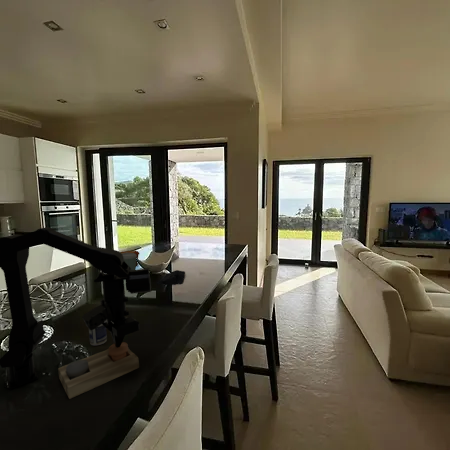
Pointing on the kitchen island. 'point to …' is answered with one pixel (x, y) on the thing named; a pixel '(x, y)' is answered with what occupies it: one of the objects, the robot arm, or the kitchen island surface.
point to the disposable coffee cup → (130, 259)
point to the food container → (132, 252)
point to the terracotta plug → (118, 351)
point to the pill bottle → (98, 335)
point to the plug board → (98, 372)
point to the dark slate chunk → (173, 278)
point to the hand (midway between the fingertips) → (118, 346)
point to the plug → (77, 368)
